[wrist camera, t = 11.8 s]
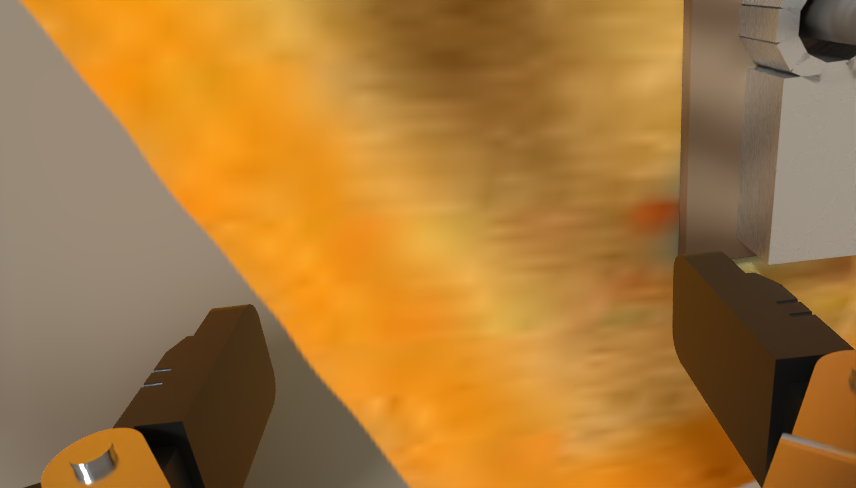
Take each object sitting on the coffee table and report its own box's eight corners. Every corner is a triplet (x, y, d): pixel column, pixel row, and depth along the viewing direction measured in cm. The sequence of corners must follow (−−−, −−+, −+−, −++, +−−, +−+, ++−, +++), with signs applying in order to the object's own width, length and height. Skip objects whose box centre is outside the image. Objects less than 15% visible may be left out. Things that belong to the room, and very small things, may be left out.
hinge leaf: (742, -42, 32) (783, -44, 29) (864, -58, 32) (920, -63, 28) (727, 238, 38) (759, 266, 35) (829, 226, 38) (872, 253, 34)
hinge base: (690, -294, 29) (830, -441, 19) (937, -335, 29) (1221, -509, 18) (678, 256, 40) (763, 352, 30) (857, 235, 39) (1008, 326, 29)
